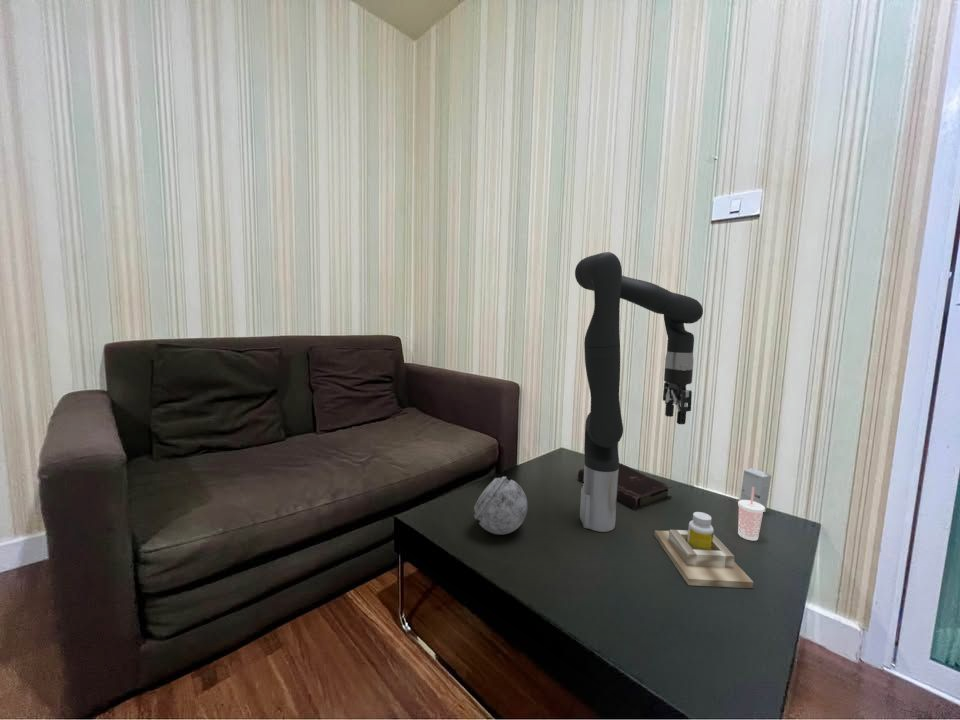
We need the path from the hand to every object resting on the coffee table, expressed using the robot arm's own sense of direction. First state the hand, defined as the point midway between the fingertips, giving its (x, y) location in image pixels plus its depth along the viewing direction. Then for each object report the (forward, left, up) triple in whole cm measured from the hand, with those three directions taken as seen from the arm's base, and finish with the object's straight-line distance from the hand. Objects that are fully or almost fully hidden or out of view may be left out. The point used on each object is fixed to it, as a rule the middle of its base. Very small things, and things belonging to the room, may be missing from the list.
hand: (674, 420), depth 122 cm
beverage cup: (+16, -14, -28) cm, 35 cm away
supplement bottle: (-3, -26, -27) cm, 37 cm away
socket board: (-3, -26, -28) cm, 39 cm away
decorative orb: (-52, -17, -28) cm, 62 cm away
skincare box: (+27, +2, -28) cm, 39 cm away
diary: (-10, +13, -29) cm, 33 cm away
